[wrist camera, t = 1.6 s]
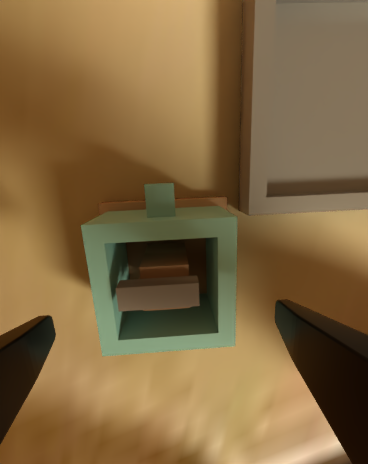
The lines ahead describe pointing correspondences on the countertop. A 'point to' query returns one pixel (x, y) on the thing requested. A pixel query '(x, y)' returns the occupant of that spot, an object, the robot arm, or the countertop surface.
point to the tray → (303, 106)
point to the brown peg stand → (163, 265)
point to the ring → (171, 320)
